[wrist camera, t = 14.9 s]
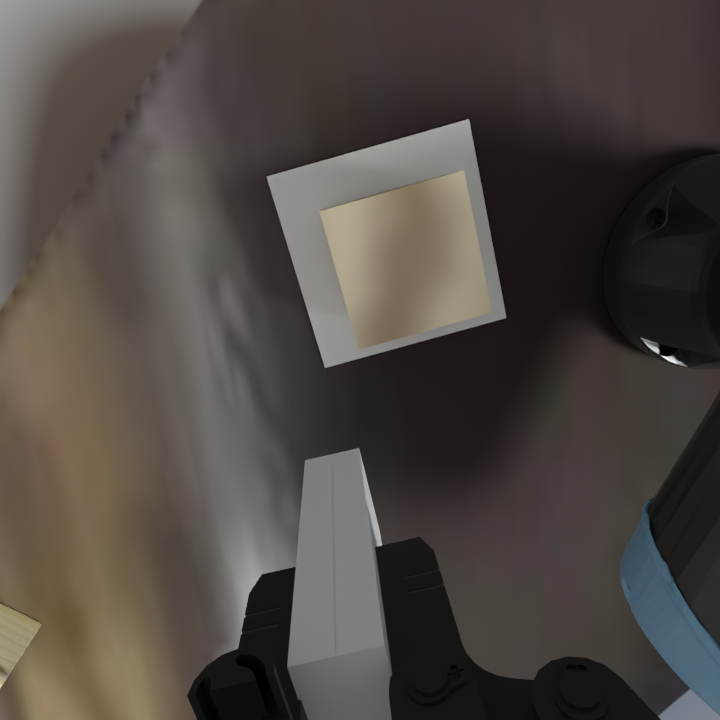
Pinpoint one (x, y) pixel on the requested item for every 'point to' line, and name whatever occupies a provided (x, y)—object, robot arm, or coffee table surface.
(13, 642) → the toy sofa
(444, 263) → the maple cube
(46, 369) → the coffee table surface
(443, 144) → the grey mat
